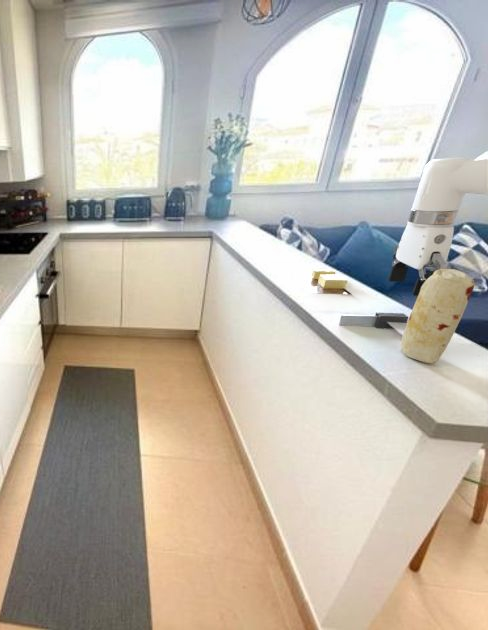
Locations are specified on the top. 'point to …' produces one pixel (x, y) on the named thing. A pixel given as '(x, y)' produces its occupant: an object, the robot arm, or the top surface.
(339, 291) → the board
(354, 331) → the top surface
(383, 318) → the knife
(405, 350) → the food model
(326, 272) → the butter slice
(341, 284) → the butter block
